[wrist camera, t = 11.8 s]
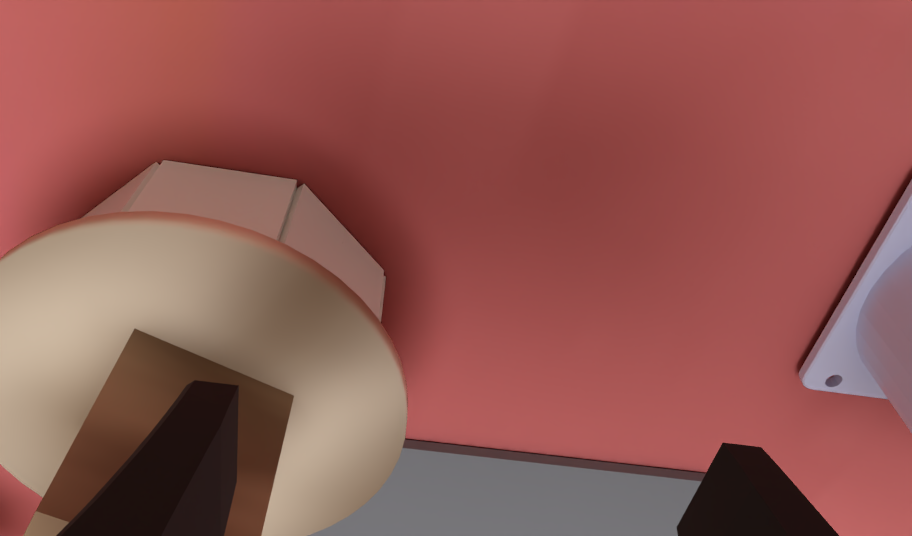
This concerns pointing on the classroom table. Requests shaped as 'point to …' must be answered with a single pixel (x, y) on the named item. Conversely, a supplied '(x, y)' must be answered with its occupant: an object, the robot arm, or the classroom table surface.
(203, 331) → the lid
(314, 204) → the bowl
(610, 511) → the mat
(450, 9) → the classroom table surface
